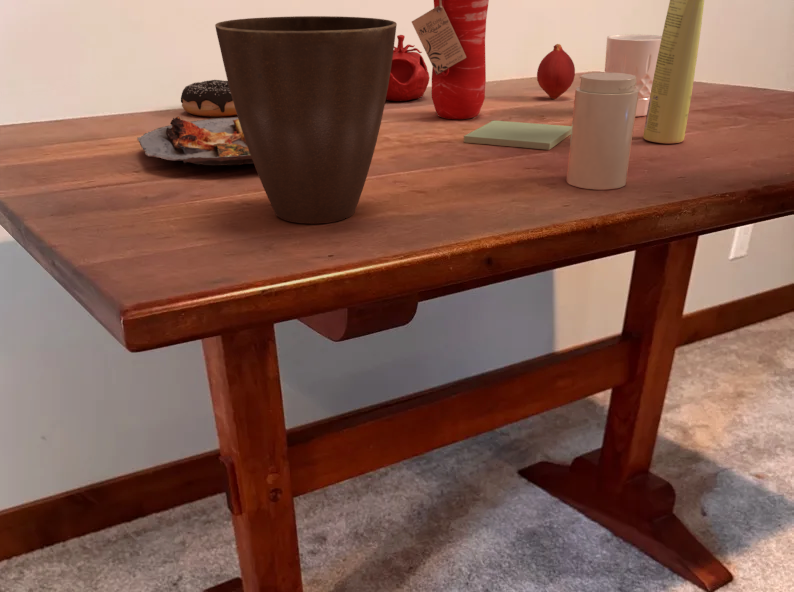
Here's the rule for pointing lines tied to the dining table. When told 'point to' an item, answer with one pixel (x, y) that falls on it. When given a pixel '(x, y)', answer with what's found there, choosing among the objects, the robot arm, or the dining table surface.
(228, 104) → the donut
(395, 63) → the red tomato holder
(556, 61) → the onion
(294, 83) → the flower pot
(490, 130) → the mat
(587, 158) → the white jar
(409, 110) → the dining table surface
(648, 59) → the white cup
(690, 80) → the tube
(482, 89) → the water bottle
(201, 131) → the food plate
